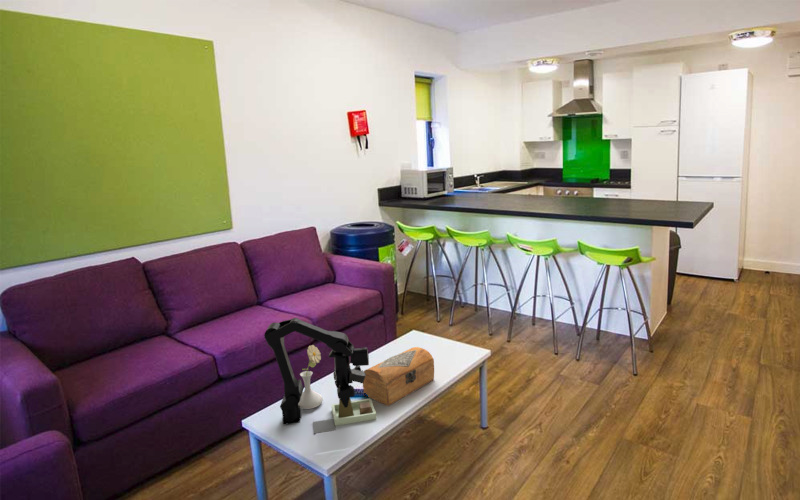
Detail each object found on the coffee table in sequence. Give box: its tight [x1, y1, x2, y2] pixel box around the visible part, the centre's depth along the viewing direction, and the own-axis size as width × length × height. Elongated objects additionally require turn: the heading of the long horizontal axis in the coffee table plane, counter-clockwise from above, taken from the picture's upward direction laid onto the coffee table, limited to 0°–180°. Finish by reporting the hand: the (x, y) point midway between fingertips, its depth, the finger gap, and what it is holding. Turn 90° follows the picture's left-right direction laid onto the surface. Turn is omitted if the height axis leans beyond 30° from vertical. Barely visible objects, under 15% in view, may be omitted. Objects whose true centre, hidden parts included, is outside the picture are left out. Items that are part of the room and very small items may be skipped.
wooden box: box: [362, 346, 435, 407], centre depth 217 cm, size 30×16×14 cm, turn 135°
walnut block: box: [359, 402, 371, 415], centre depth 197 cm, size 4×4×4 cm
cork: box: [338, 397, 354, 418], centre depth 196 cm, size 6×6×11 cm
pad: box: [312, 418, 337, 435], centre depth 191 cm, size 8×8×1 cm
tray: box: [331, 398, 377, 427], centre depth 198 cm, size 16×12×3 cm
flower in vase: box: [298, 344, 324, 410], centre depth 206 cm, size 13×11×25 cm
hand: (345, 403), depth 196 cm, fingers open, 6 cm apart
